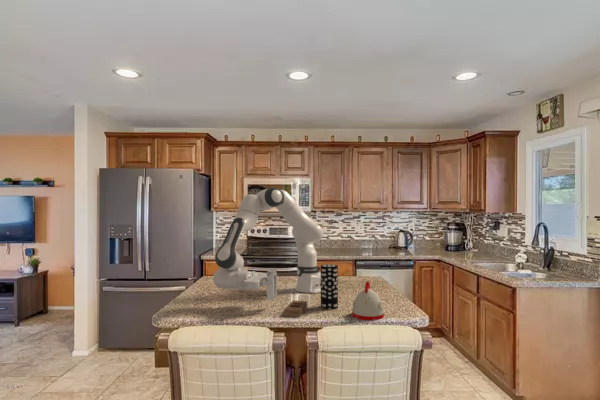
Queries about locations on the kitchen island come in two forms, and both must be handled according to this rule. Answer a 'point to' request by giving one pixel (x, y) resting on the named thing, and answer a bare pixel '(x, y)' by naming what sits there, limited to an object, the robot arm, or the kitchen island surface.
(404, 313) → the kitchen island surface
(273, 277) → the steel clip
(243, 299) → the kitchen island surface
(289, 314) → the brown slotted block
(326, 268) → the spotted tube
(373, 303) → the kitchen timer
